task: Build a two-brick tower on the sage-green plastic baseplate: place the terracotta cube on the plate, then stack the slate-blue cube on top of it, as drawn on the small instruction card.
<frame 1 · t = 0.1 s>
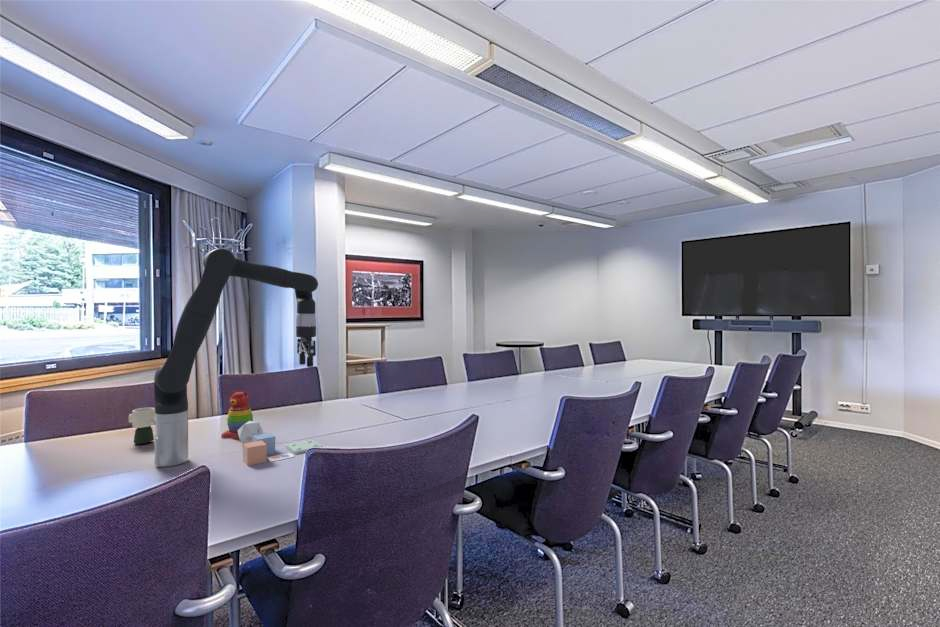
hand: (306, 365, 178), 29 cm above the table, tool pointing down, fingers open, 8 cm apart
brick blue: (264, 452, 161), on the table
character mug: (143, 443, 171), on the table
stacking bear: (239, 435, 182), on the table
brick terracotta: (254, 461, 152), on the table
baseplate: (304, 448, 166), on the table
die: (250, 443, 172), on the table
instruction card: (280, 457, 156), on the table
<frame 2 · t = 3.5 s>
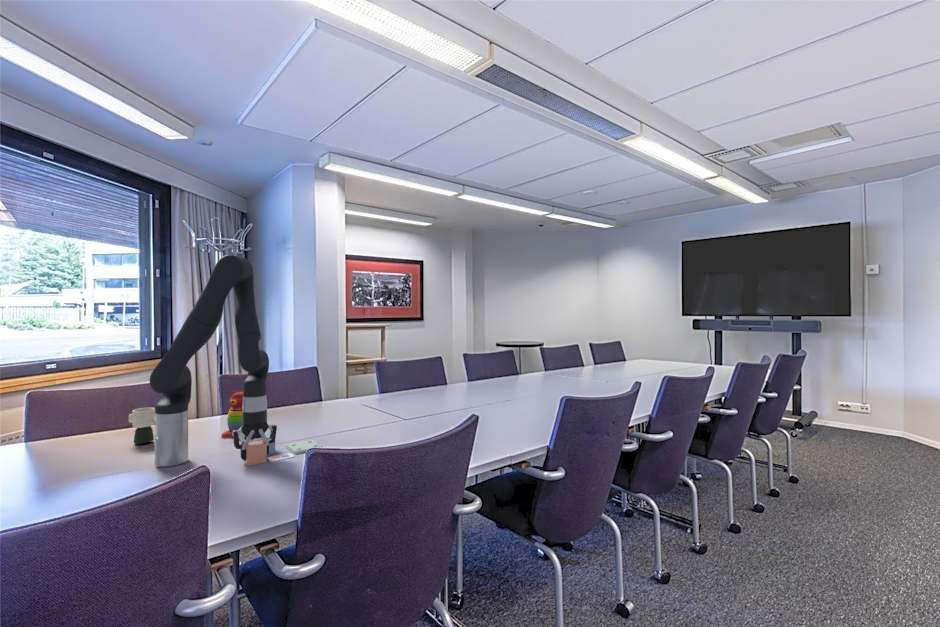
hand: (255, 457, 152), 1 cm above the table, tool pointing down, fingers closed on brick terracotta, 6 cm apart
brick terracotta: (254, 461, 152), on the table, touching gripper
everything else where it was.
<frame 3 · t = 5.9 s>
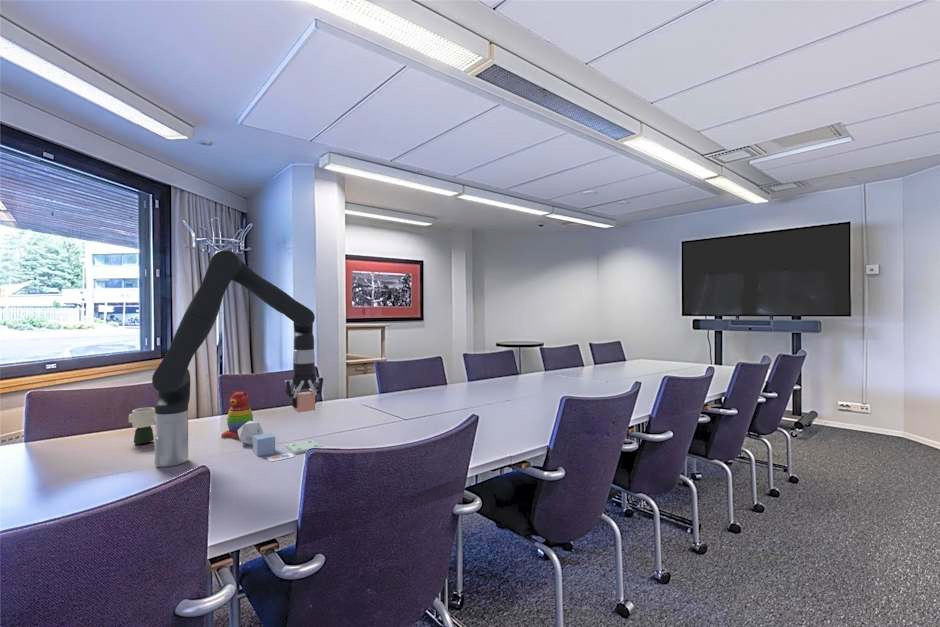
hand: (304, 406, 166), 16 cm above the table, tool pointing down, fingers closed on brick terracotta, 6 cm apart
brick terracotta: (304, 409, 166), point 14 cm above the table, touching gripper
everything else where it was.
when the fingers open (3 cm above the table, at t = 8.7 s): brick terracotta stays where it is, resting on baseplate.
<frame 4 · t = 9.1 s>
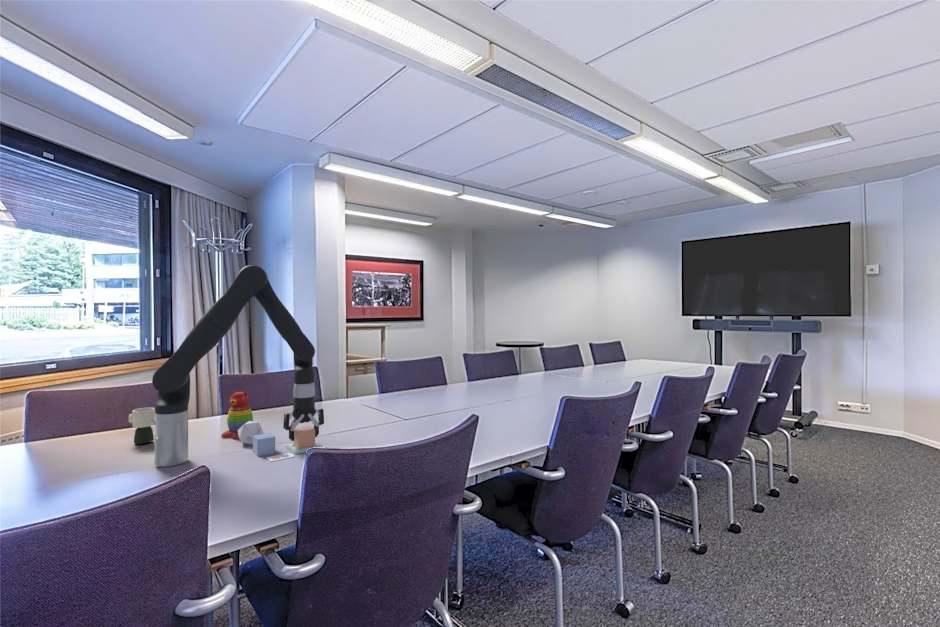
hand: (304, 438, 166), 4 cm above the table, tool pointing down, fingers open, 8 cm apart
brick terracotta: (304, 444, 166), point 1 cm above the table, touching baseplate
everything else where it was.
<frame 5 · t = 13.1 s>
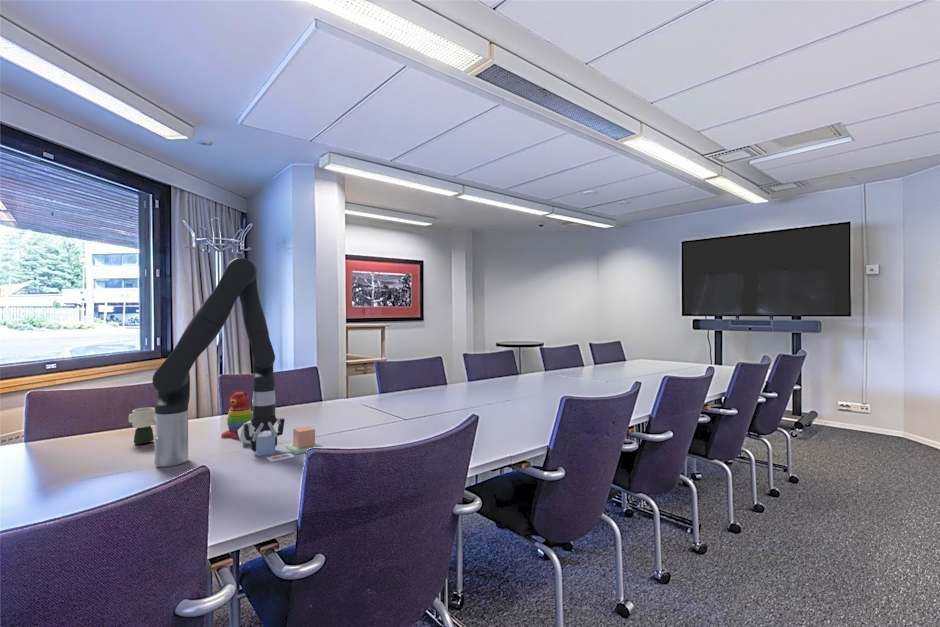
hand: (264, 449, 161), 1 cm above the table, tool pointing down, fingers closed on brick blue, 6 cm apart
brick blue: (264, 452, 161), on the table, touching gripper
everything else where it was.
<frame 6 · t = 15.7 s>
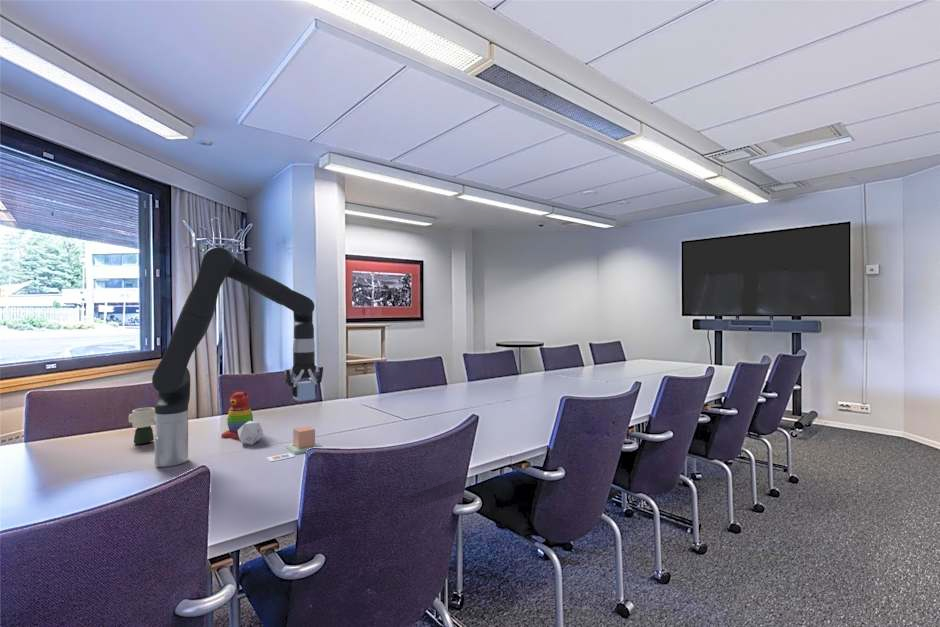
hand: (304, 395, 166), 20 cm above the table, tool pointing down, fingers closed on brick blue, 6 cm apart
brick blue: (304, 398, 166), point 18 cm above the table, touching gripper
everything else where it was.
when the fingers open (9 cm above the table, at t = 18.1 s): brick blue stays where it is, resting on brick terracotta.
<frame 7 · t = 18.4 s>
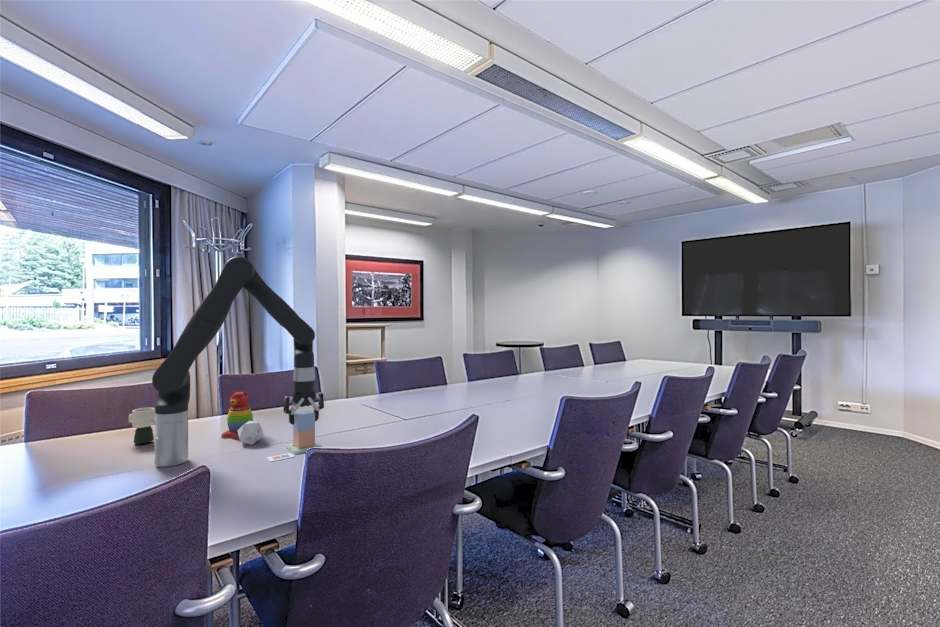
hand: (304, 422, 166), 10 cm above the table, tool pointing down, fingers open, 8 cm apart
brick blue: (304, 428, 166), point 7 cm above the table, touching brick terracotta
brick terracotta: (304, 444, 166), point 1 cm above the table, touching baseplate, brick blue
everything else where it was.
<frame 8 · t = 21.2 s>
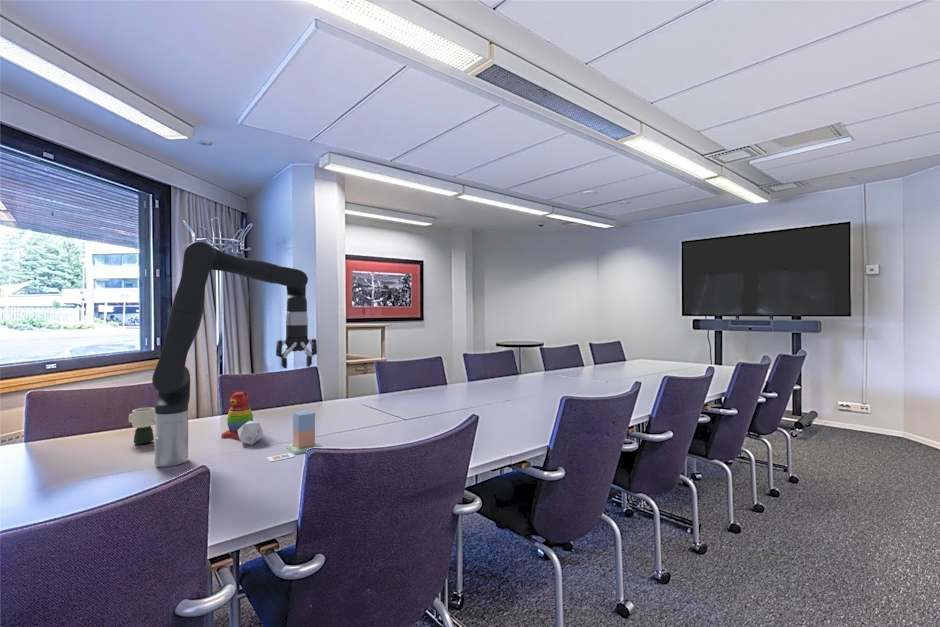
hand: (296, 367, 166), 30 cm above the table, tool pointing down, fingers open, 8 cm apart
nothing on the table moved.
at the end: brick terracotta inside the target area on the baseplate (0.1 cm from its centre), point 1.2 cm above the baseplate's base; brick blue 0.1 cm off-centre on the brick terracotta, point 6.0 cm above the brick terracotta's base; brick blue tilted 0° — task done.
